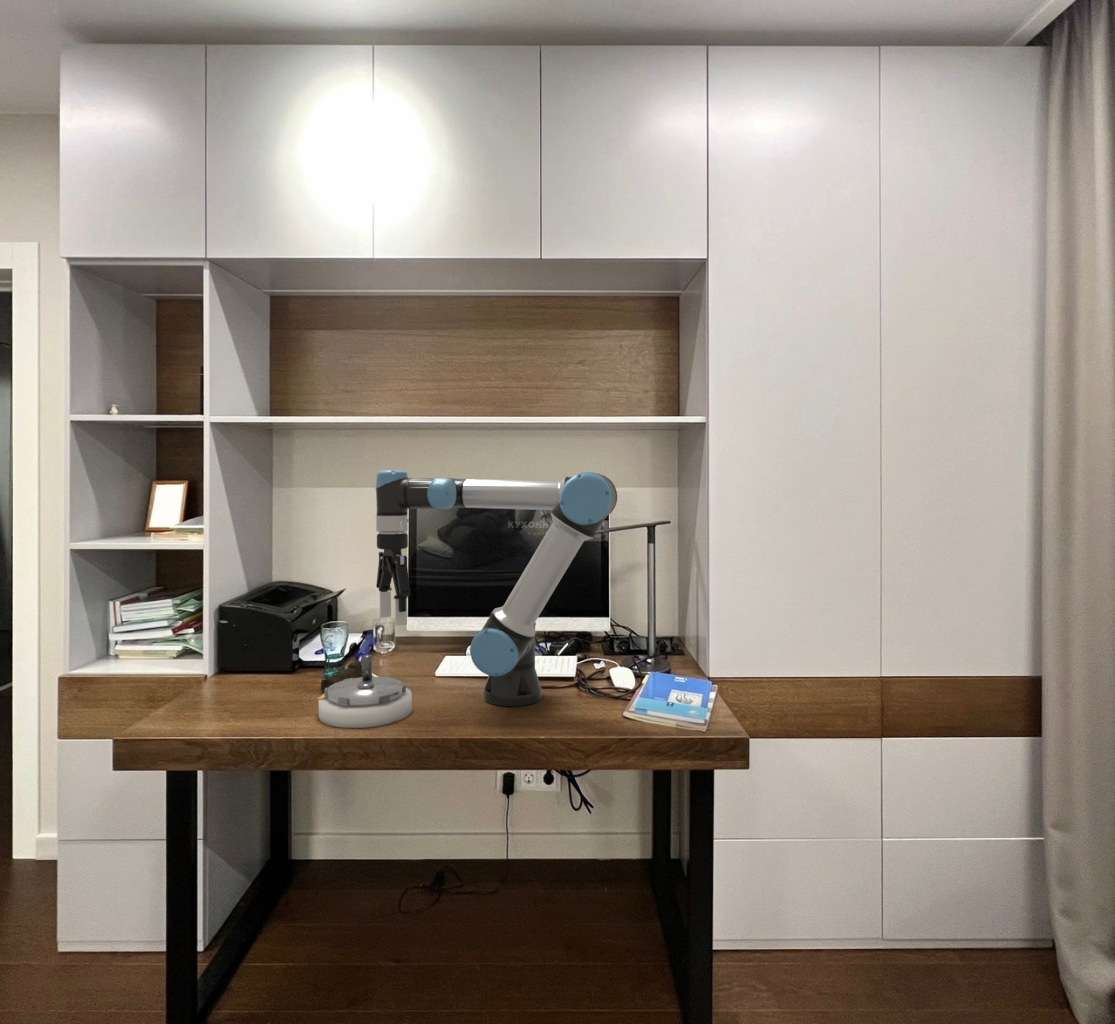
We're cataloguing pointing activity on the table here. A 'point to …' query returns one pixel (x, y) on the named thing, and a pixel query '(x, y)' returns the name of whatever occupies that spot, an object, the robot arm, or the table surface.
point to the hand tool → (344, 675)
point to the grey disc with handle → (365, 688)
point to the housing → (365, 713)
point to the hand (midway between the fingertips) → (393, 620)
